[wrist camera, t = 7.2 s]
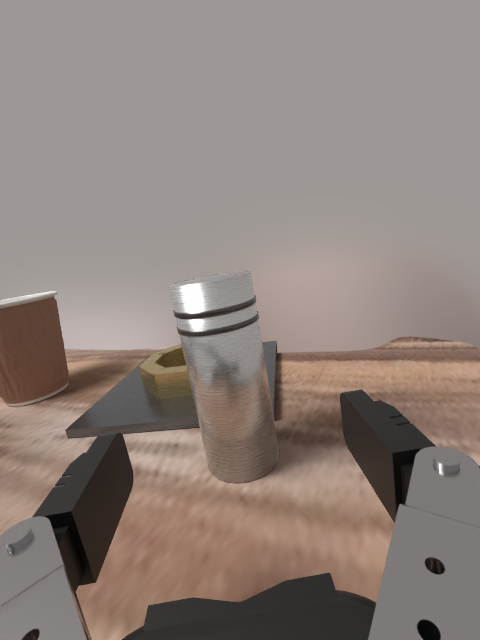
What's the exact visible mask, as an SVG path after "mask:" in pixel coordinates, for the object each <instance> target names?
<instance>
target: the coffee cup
mask: <svg viewBox="0 0 480 640" xmlns="http://www.w3.org/2000/svg"><path fill="white" fill-rule="evenodd" d="M56 294H57V292H56V291H52V292H45V293H38V294H33V295H27V296H21V297H16V298H10V299H5V300H0V397H1V398H3V400H4V402H5V403H6V404H7V405H8V406H13V407H15V406H24V405H28V404H32V403H36V402H39V401H42V400H44V399H47V398H49V397H52V396H54V395H56V394H58V393H59V392H61V391H62V390H64V389H65V388H66V387H67V386H68V384H69V382H68V368H67V362H66V356H65V350H64V342H63V338H62V332H61V326H60V320H59V314H58V308H57V302H56V300H55V298H54V295H56Z"/></svg>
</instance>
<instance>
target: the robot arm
mask: <svg viewBox="0 0 480 640" xmlns="http://www.w3.org/2000/svg"><path fill="white" fill-rule="evenodd" d="M340 404H341V414H342V424H343V433H344V437H345V441H346V444H347V446H348V449H349V450H350V452H351V454H352V455H353V457H354V458H355V460H356V462H357V463H358V465H359V467H360V468H361V470H362V471H363V473H364V475H365V476H366V478H367V479H368V481H369V483H370V484H371V486H372V487H373V489H374V491H375V492H376V494H377V496H378V497H379V499H380V500H381V502H382V504H383V505H384V507H385V508H386V510H387V512H388V513H389V515H390V516H391V518H392V520H393V521H394V523H395V524H394V529H393V533H392V538H391V542H390V546H389V551H388V555H387V559H386V564H385V568H384V572H383V577H382V581H381V586H380V590H379V594H378V599H377V603H376V602H374V601H372V600H370V599H368V598H365V597H363V596H360V595H357V594H354V593H350V592H346V591H339V590H335V587H334V583H333V580H332V577H331V574H330V573H326V574H320V575H315V576H309V577H303V578H298V579H292V580H287V581H284V582H282V583H280V584H278V585H276V586H274V587H272V588H269V589H267V590H265V591H263V592H261V593H259V594H257V595H255V596H253V597H251V598H249V599H247V600H245V601H242V602H229V601H220V600H211V599H202V598H187V599H182V600H176V601H171V602H165V603H160V604H154V605H149V606H148V609H147V614H146V619H145V623H144V626H142V627H140V628H139V629H137V630H135V631H134V632H132V633H130V634H129V635H127V636H126V637H125V638H123V639H122V640H480V466H478V464H477V463H476V462H475V461H474V460H473V459H472V458H471V457H470V456H468V455H466V454H465V453H463V452H460V451H458V450H455V449H451V448H447V447H438V446H435V445H434V444H433V443H432V442H431V441H430V440H429V439H428V438H427V437H426V436H425V435H423V434H422V433H421V432H420V431H419V430H418V429H417V428H416V427H415V426H414V425H413V424H410V421H408V420H407V419H406V418H405V417H403V416H402V414H401V413H400V412H399V411H398V410H397V409H396V408H395V407H393V406H391V405H389V404H387V403H385V402H382V401H373V400H372V399H371V398H370V397H369V396H368V395H367V394H366V393H365V392H364V391H363V390H356V391H350V392H344V393H341V394H340ZM132 486H133V470H132V466H131V462H130V459H129V455H128V452H127V448H126V444H125V441H124V438H123V435H122V434H121V433H113V434H107V435H102V436H98V437H97V438H96V439H95V441H94V442H93V443H92V445H91V446H90V448H89V449H88V451H87V452H86V453H83V454H82V455H80V456H79V457H78V458H77V459H76V460H74V461H73V462H72V463H71V464H70V465H69V467H68V468H67V469H66V471H65V472H64V473H63V475H62V478H60V479H59V480H58V482H57V483H56V485H55V487H54V488H53V489H52V490H51V492H50V493H49V494H48V496H47V497H46V499H45V500H44V501H43V503H42V504H41V506H40V507H39V508H38V510H37V511H36V513H35V514H34V515H33V517H32V518H29V519H26V520H24V521H22V522H20V523H18V524H16V525H14V526H13V527H11V528H10V529H8V530H7V531H5V532H4V533H3V534H2V535H1V536H0V640H91V637H90V633H89V630H88V627H87V624H86V621H85V618H84V615H83V612H82V609H81V606H80V603H79V600H78V597H77V594H76V590H77V588H78V586H80V585H85V584H91V583H96V581H97V578H98V576H99V573H100V570H101V568H102V565H103V563H104V560H105V557H106V555H107V552H108V550H109V547H110V544H111V542H112V539H113V537H114V534H115V531H116V529H117V526H118V524H119V521H120V518H121V516H122V513H123V511H124V508H125V505H126V503H127V500H128V498H129V495H130V492H131V490H132Z"/></svg>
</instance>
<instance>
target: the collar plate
mask: <svg viewBox="0 0 480 640" xmlns="http://www.w3.org/2000/svg"><path fill="white" fill-rule="evenodd" d="M262 345H263V352H264V358H265V364H266V370H267V377H268V383H269V389H270V395H271V402H272V408H273V414H274V420H275V395H276V365H277V343H276V341H271V342H262ZM196 427H200V426H199V421H198V417H197V412H196V408H195V403H194V398H193V394H192V389H191V385H190V380H189V376H188V371H187V366H186V362H185V357H184V353H183V348H182V344H179V345H176V346H173V347H170V348H167V349H165V350H162V351H159V352H156V353H154V354H152V355H151V356H149V357H147V358H146V359H145V360H144V361H143V362H142V363H141V364H140V365H138V366H137V367H136V368H135V369H134V370H133V371H132V372H130V373H129V374H128V375H127V376H126V377H125V378H124V379H123V380H121V381H120V382H119V383H118V384H117V385H116V386H115V387H113V388H112V389H111V390H110V391H109V392H108V393H107V394H106V395H104V396H103V397H102V398H101V399H100V400H99V401H98V402H96V403H95V404H94V405H93V406H92V407H91V408H90V409H89V410H87V411H86V412H85V413H84V414H83V415H82V416H81V417H79V418H78V419H77V420H76V421H75V422H74V423H73V424H71V425H70V426H69V427H68V428H67V429H66V430H65V431H66V434H67V437H68V438H76V437H88V436H100V435H107V434H113V433H121V434H124V433H136V432H148V431H160V430H172V429H184V428H196Z"/></svg>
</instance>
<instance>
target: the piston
mask: <svg viewBox="0 0 480 640" xmlns="http://www.w3.org/2000/svg"><path fill="white" fill-rule="evenodd" d="M169 289H170V293H171V298H172V302H173V307H174V310H173V311H174V316H175V317H176V321H177V325H178V326H177V329H178V333H179V335H180V339H181V344H182V348H183V353H184V357H185V362H186V366H187V371H188V376H189V380H190V385H191V389H192V394H193V398H194V403H195V408H196V412H197V417H198V421H199V426H200V430H201V435H202V440H203V444H204V449H205V453H206V458H207V462H208V467H209V470H210V472H211V473H212V475H213V476H215V477H216V478H217V479H219V480H222V481H225V482H229V483H244V482H249V481H253V480H256V479H258V478H261V477H262V476H264V475H266V474H267V473H269V472H270V471H271V470H272V469H273V468H274V467H275V466H276V464H277V462H278V460H279V456H280V452H279V445H278V439H277V433H276V427H275V420H274V414H273V408H272V402H271V395H270V389H269V383H268V377H267V370H266V364H265V358H264V352H263V345H262V339H261V333H260V328H259V321H258V319H259V315H258V311H257V308H256V296H255V295H254V289H253V283H252V277H251V271H237V272H229V273H222V274H215V275H210V276H204V277H199V278H194V279H189V280H185V281H181V282H178V283H174V284H171V285H169Z"/></svg>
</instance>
